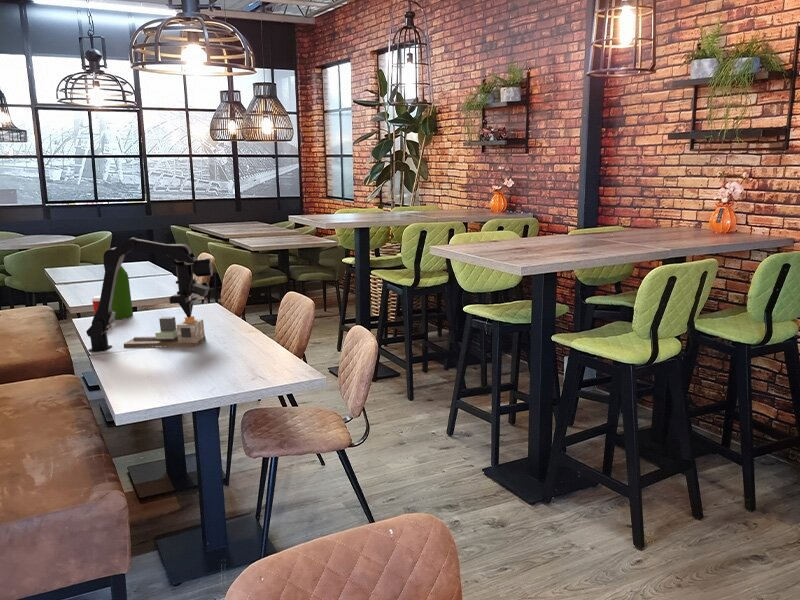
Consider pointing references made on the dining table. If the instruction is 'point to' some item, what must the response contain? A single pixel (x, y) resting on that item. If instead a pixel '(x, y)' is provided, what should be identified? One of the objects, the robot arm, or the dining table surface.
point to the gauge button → (189, 320)
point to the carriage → (167, 328)
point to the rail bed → (186, 337)
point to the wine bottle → (122, 296)
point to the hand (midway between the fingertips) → (189, 317)
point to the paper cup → (96, 303)
